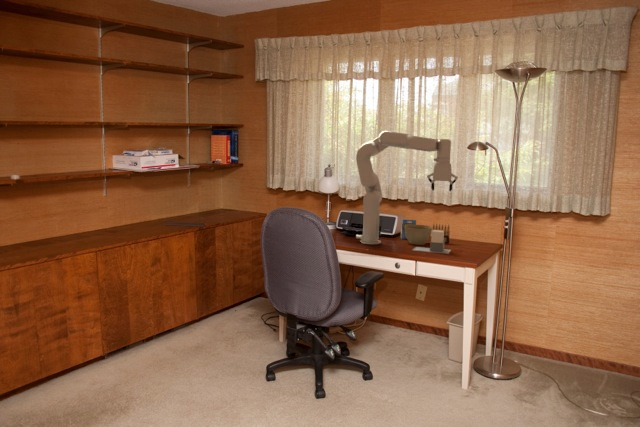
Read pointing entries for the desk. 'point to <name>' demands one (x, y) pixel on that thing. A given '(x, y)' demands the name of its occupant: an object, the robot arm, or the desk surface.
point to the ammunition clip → (444, 232)
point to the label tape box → (404, 227)
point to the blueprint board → (429, 250)
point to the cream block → (437, 236)
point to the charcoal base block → (437, 246)
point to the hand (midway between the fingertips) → (441, 190)
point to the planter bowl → (418, 233)
